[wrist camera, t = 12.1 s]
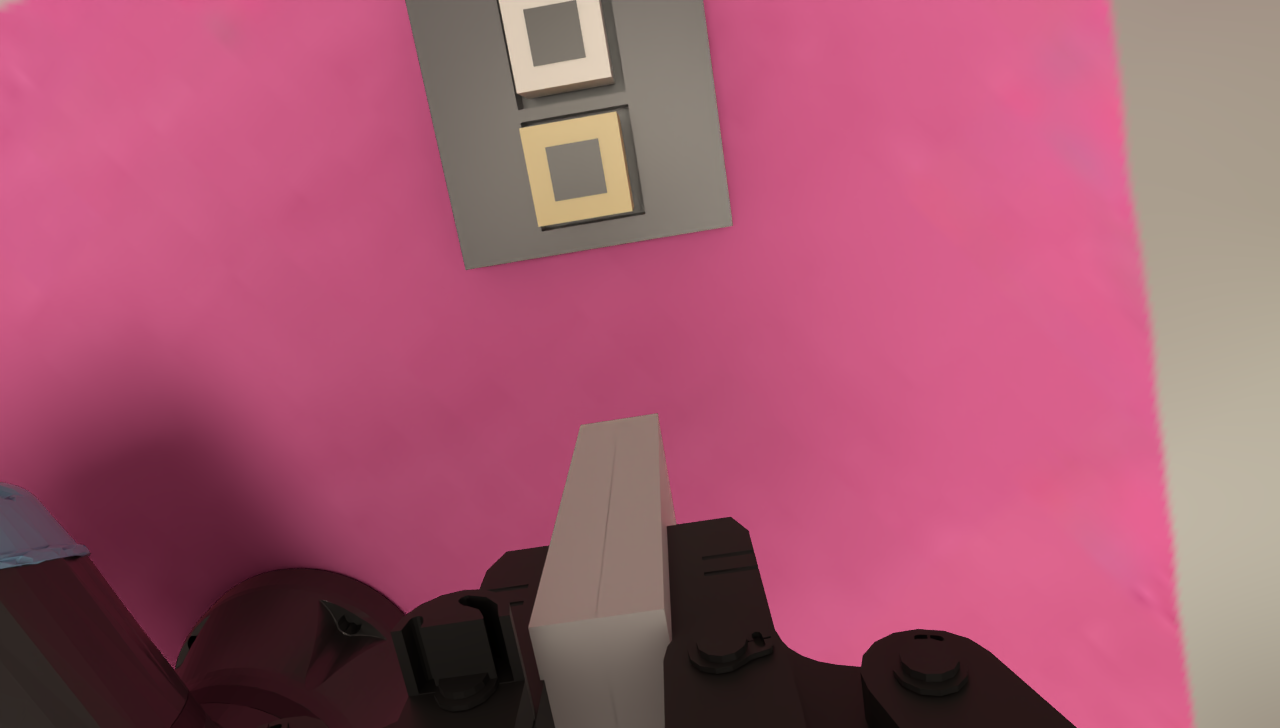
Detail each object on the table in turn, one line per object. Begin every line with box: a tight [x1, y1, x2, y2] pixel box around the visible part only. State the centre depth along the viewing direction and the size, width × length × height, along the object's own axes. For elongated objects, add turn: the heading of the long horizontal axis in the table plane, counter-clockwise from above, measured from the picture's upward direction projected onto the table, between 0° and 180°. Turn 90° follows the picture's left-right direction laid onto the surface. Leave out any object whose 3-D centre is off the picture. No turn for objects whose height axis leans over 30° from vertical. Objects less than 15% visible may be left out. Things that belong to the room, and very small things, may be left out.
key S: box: [519, 111, 634, 227], centre depth 36 cm, size 4×4×4 cm
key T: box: [499, 0, 615, 99], centre depth 36 cm, size 4×4×4 cm
